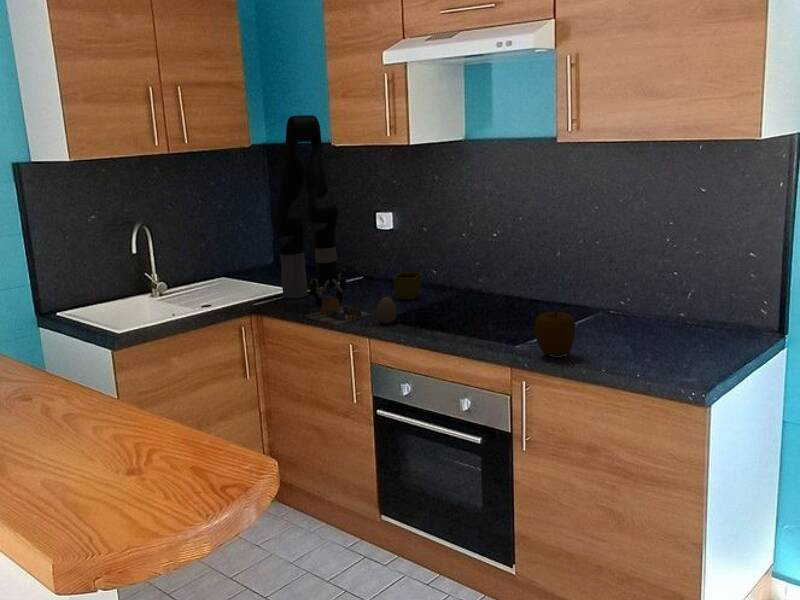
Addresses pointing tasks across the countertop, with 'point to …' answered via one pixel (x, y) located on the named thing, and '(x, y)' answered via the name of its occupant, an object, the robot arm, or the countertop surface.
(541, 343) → the apple
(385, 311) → the egg
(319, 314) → the header board
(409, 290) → the flower pot
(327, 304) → the plug block
